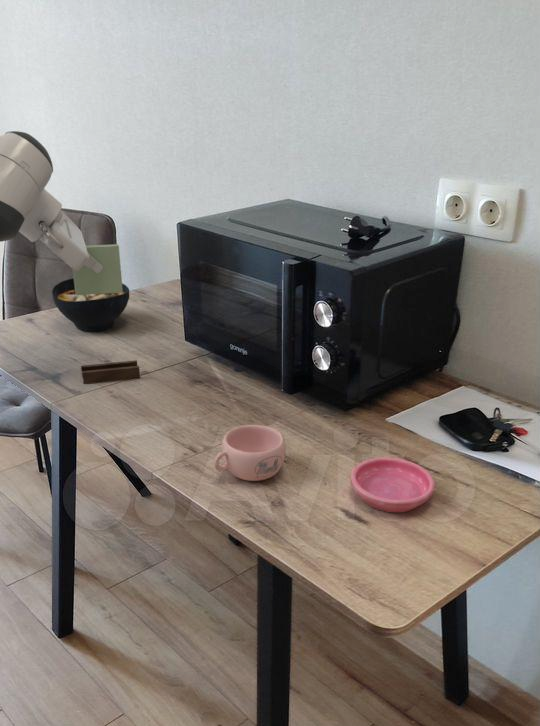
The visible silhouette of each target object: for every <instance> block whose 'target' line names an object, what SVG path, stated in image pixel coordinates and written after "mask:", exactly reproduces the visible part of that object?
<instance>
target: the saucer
mask: <svg viewBox="0 0 540 726" xmlns="http://www.w3.org/2000/svg"><path fill="white" fill-rule="evenodd" d="M350 484H351V487H352V489H353V490H354V492H355V493H356V495H358V497H360V498H361V500H362V501H363V503H365V504H367V505H368V506H370V507H371V508H372V509H373V508H374V509H375V510H379V511H381V512H385V513H405V512H409V511H412V510H414V509H417V508H418V507H419V506H422V505H423V504H424V503H426V502H427V501H429V500H430V499H431V498H432V496H433V494H434V492H435V487H436V483H435V480H434V477H433V476H432V474H431V473H430V472H429V471H428V470H427V469H425V468H424V467H423V466H421V465H419V464H417V463H415V462H412V461H410V460H406V459H402V458H397V457H384V456H383V457H375V458H374V457H373V458H370V459H367V460H364V461H363V460H362V461H361V462H359V463H357V464H356V465H355V466H354V467H353V468H352V470H351V474H350Z"/></svg>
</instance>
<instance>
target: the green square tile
mask: <svg viewBox="0 0 540 726" xmlns="http://www.w3.org/2000/svg"><path fill="white" fill-rule="evenodd" d="M86 248H87V251H88V253H89V254H90V255H91V256H92V257H93V258H94V259H96V260H97V261H99V262H100V263H101V264H102V266H103V269H102V270H101V271H100V272H99V273H96V272H94V271H93V270H92V269H91V268H89V267H87V266H85V265H84V266H83V267H82V268H81V269H80V270H79V271H76V270H74V269H73V268H71V271H72V277H73V278H74V286H75V294H76V295H90V294H105V293H120V292H123V289H122V283H123V281H122V280H123V278H122V268H121V256H120V246H119V243H115V244H97V245H96V244H94V245H86Z"/></svg>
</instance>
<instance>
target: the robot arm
mask: <svg viewBox="0 0 540 726" xmlns="http://www.w3.org/2000/svg"><path fill="white" fill-rule="evenodd" d="M53 173H54V166H53V161H52V158H51V156H50V154H49V152H48V150H47V149H46V147H45V146H44V145H43V144H42V143H41V142H40V141H39V140H38V139H36V138H35V137H34V136H32V135H30V134H29V133H27V132H24V131H19V130H18V131H17V130H11V131H6V132H5V133H4V134H3V135H0V242H1V243H2V242H6V241H11V240H13V239H15V238H16V237H17V236H18V234H21V235H22V236H23V237H25V238H26V239H27V240H28V241H30V242H31V243H35V242H36V241H38V240H39V241H41V243H43V244H45V246H47V248H48V249H49V250H50V251H52V253H54V255H56V256H57V257H58V258H59V259H61V260H62V261H63V262H64V263H65V264H66V265H68V266H69V267H70V268H71V269H72V268H73V269H74V270H76V271H79V270H80V269H81V268H82V267H83V266H84V265H85V266H87V267H89V268H91V269H92V270H93V271H94V272H96V273H99V272H100V271H101V270H102V269H103V266H102V264H101V263H100V262H99V261H97V260H96V259H94V258H93V257H92V256H91V255H90V254H89V253H88V251H87V248H86V246H87V245H86V242H85V239H84V235H83V233H82V231H81V230H80V228H79V226H77V225H76V224H75V223H74V221H73V220H71V218H70V217H69V216H68V215H67V214H66V213H65V212H64V211H63V210H62V208H63V204H62V202H60V201H59V200H58V199H57V198H56V197H55V196H53V194H51V193H50V192H49V191H48V190H46V189H45V188H46V186H47V185H48V183H49V182H50V181H51V177H52V174H53Z"/></svg>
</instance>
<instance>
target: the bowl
mask: <svg viewBox="0 0 540 726" xmlns="http://www.w3.org/2000/svg"><path fill="white" fill-rule="evenodd" d="M122 289H123V292H120V293H105V294H90V295H76V294H75V286H74V278H68V279H65V280H62V281H60V282H58V283H57V284H56V285H54V286H53V287H52V290H51V294H52V300H53V302H54V305H55V306H56V308H57V309H58V311H59V312H60V313H61V314H62V315H63V316H64V317H65V318H66V319H67V320H69V321H70V322H72V323H73V324H74V326H75V327H76V329H78V330H79V331H83V332H89V333H96V332H97V333H98V332H104V331H107V330H110V329H111V328H113V327H114V324H115V322H116V320H117V319H118V318H119V317H120V316H121V315H122V314H123V312H124V311H125V309H126V308H127V306H128V303H129V300H130V288H129V287H128V286H127V285H126V284H125V283H123V282H122Z"/></svg>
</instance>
